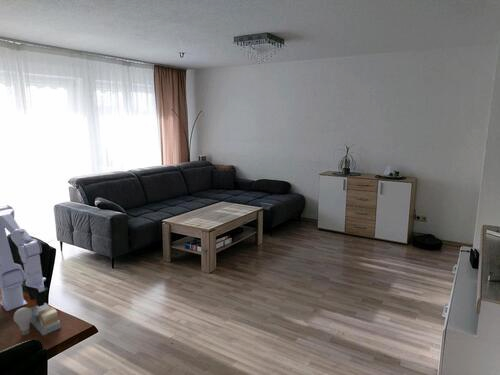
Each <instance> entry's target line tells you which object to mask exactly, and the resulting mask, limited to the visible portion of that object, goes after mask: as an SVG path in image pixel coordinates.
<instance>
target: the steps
mask: <svg viewBox="0 0 500 375" xmlns="http://www.w3.org/2000/svg"><path fill="white" fill-rule="evenodd" d="M50 307H51V306H50V305H49V304H48V303H46V302H45V303H44V305H42V306H40V307H38V305H35V306H33V307H30V308H29V307H28V308H29V309H31V310H32V313H33V316H32V319H31V321H30V323H31V325H32V326H34V328H35V329H36V330H37V331H38V332H39V333H40V334H41V335H42V336H45V335H47V334H50V333H51V332H54V331H57V330H59V329H61V326H62V324H61V321H60V320H59V319H58V321H59V323H58V324H55V325H53V326H50V327H48V328H46V329H45V328H44V327H43V326H42V325H41V324H40V321H39V313H38V312H40V311H42V310H45V309H47V308H50Z"/></svg>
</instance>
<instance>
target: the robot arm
mask: <svg viewBox="0 0 500 375" xmlns="http://www.w3.org/2000/svg"><path fill="white" fill-rule="evenodd" d="M6 230H7V231H8V233H10V239H11V241H12V242H13V243H14V244H15V246H16V247H17V249H18V250H17V251H18V254H19V256H20V260H21V263H23V266H22V265H21V264H19V263H15V262H14V258H13V257H14V256H13V253H12V250H11V248H10V247H11V246H10V242H9V239H8V236H7V231H6ZM42 252H43V249H42V244H41V243H40V241H39V240H38V239H35V238H32V237H31V235H30V234H29V232H28V231H27V230H25V229H24V228H20V226H19V224H18V223H17V221H16V219H15V209H14V208H13V206H11V205H10V204H7V205H3V206H0V293H1V299H2V301H1V302H0V305H1V307H2V308H4V310H5V311H6V312H9V311H12V310H13V309H17V308H20V307H22V306H25V305H28V301H26V299H24V293H23V292H24V291H23V287H24V288H25V290H26V292H27V294H28V296H29V299H30V300H31V301H34V300H35V302H36V304H37V305H36V306H38V307H40V306H42V305H44V303H46V302H45V301H46V296H47V293H48V291H49V287H45V285H44V282H45V281H47V278H46V277H43V271H42V264H41V256H40V254H41V253H42ZM24 281H25V283H24Z"/></svg>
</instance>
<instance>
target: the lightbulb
mask: <svg viewBox="0 0 500 375" xmlns="http://www.w3.org/2000/svg"><path fill="white" fill-rule="evenodd" d="M32 316H33V313H32V310H31V309H29V307H26V306H25V307H21V308H20V307H19V308H18V309H16V311H15V312H14V313H13V320H14V323H16V324H17V325H18V326H19V330H20V332H21V335H22V336H27V335H29V334H30V326H31V324H30V323H31V322H30V321H31V319H32Z"/></svg>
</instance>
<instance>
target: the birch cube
mask: <svg viewBox="0 0 500 375" xmlns="http://www.w3.org/2000/svg"><path fill="white" fill-rule="evenodd" d="M38 313H39V321H40V324H41V325H42V326H43V327H44V328H45V329H46V328H48V327H50V326H53V325H55V324H58V323H59V321H60V320H59V313H58V311H57V310H56V308H54V306H50V308H47V309H45V310H42V311H40V312H38ZM58 320H59V321H58Z"/></svg>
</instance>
